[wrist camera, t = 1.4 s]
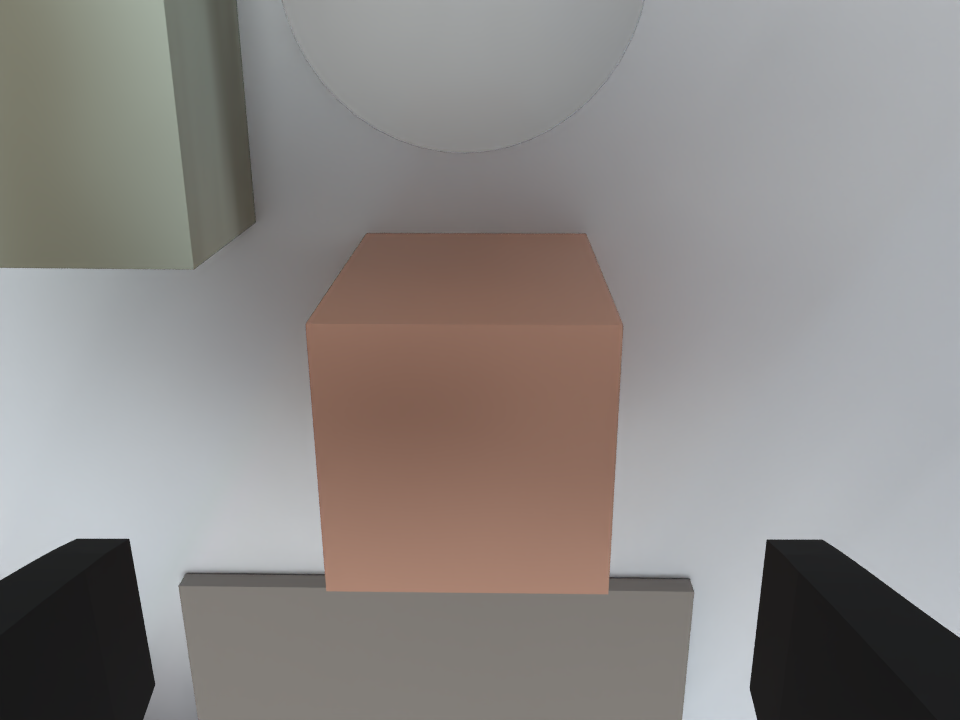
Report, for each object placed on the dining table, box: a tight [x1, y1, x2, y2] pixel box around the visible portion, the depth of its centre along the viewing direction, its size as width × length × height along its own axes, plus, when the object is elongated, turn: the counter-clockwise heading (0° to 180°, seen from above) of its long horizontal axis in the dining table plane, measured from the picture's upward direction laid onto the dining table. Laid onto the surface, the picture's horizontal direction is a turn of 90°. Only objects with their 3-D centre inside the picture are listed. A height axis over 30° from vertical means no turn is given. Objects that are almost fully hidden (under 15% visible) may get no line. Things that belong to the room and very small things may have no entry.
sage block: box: [0, 0, 256, 270], centre depth 16 cm, size 5×5×4 cm
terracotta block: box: [306, 233, 623, 594], centre depth 16 cm, size 4×4×6 cm
